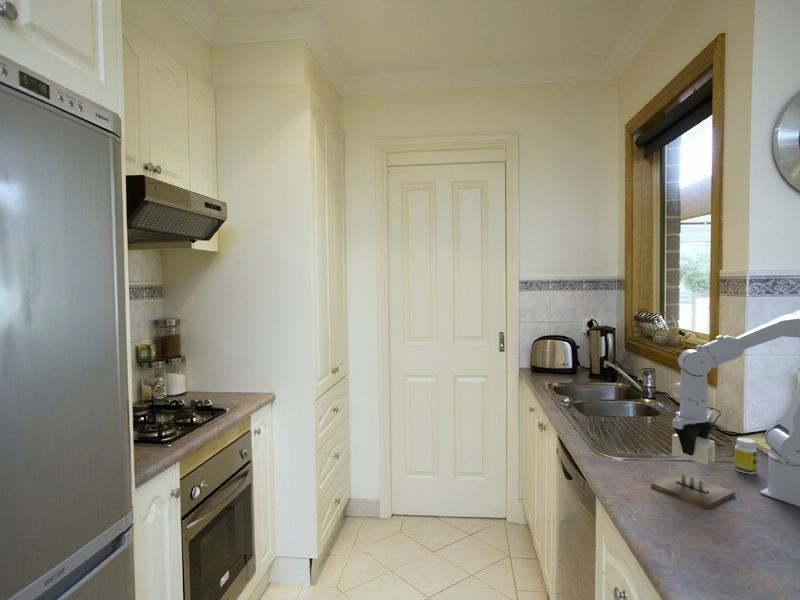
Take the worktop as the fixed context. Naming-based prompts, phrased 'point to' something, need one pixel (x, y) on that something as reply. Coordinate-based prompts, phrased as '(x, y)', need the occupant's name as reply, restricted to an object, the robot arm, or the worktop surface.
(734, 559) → the worktop surface
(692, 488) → the pin board
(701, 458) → the block
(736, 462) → the supplement bottle
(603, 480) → the worktop surface
